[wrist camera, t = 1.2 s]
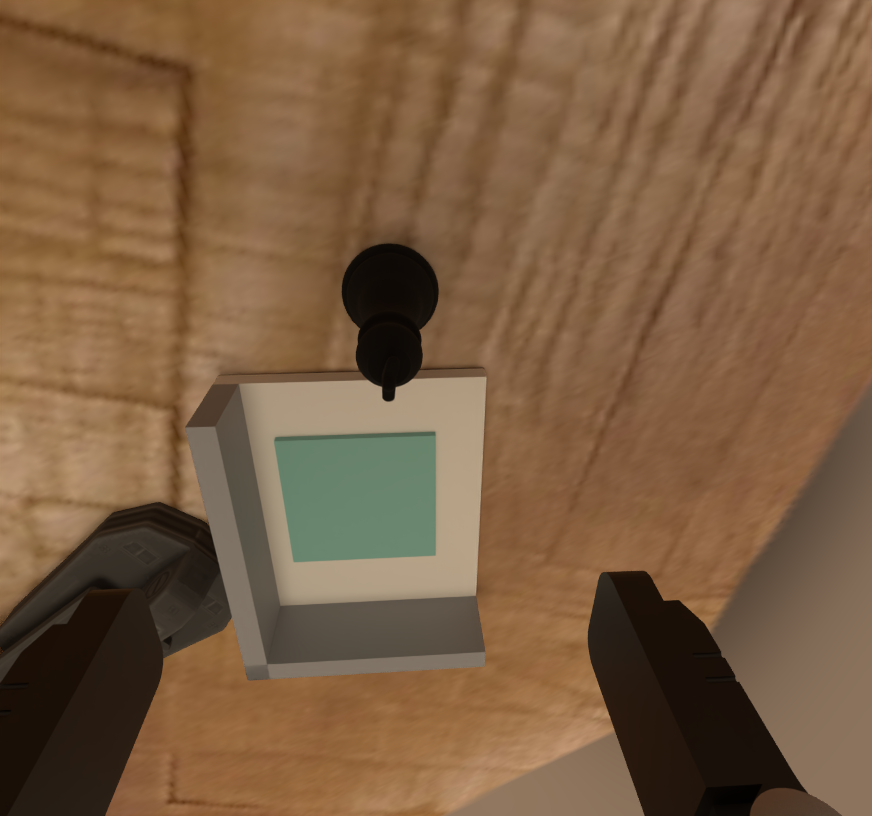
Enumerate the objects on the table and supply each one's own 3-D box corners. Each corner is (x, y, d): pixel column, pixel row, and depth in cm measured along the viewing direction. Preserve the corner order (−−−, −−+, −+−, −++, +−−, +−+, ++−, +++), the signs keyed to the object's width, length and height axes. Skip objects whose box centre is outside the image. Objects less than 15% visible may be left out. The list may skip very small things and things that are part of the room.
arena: (218, 375, 27) (185, 427, 23) (483, 368, 28) (500, 417, 24) (266, 607, 35) (247, 680, 30) (473, 597, 36) (484, 666, 31)
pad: (275, 437, 28) (274, 441, 28) (435, 431, 28) (435, 435, 28) (294, 557, 32) (293, 562, 31) (435, 550, 32) (435, 555, 32)
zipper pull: (-215, 789, 30) (99, 570, 24) (-116, 678, 36) (156, 480, 30) (-56, 850, 34) (248, 673, 28) (10, 740, 40) (273, 575, 34)
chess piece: (445, 250, 25) (473, 329, 16) (430, 341, 27) (447, 455, 18) (346, 235, 24) (320, 309, 16) (338, 330, 27) (311, 441, 18)
